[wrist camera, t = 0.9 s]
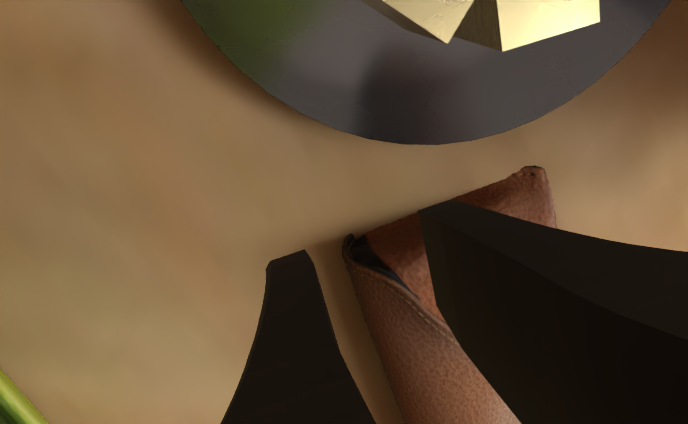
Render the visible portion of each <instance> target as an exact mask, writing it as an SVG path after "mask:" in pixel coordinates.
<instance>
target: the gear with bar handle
mask: <svg viewBox="0 0 688 424" xmlns="http://www.w3.org/2000/svg"><path fill="white" fill-rule="evenodd" d="M361 1H362V2H364V3H365V4H367V5H368V6H370V7H371V8H373V9H374V10H376V11H377V12H379V13H380V14H382V15H383V16H385V17H386V18H388V19H390V20H391V21H393V22H394V23H396V24H397V25H399V26H400V27H402V28H403V29H405V30H407V31H410V32H413V33H416V34H419V35H422V36H425V37H428V38H431V39H434V40H437V41H440V42H443V43H446V44H448V42H449V41H450V39H451V37H452V36H453V37H456V38H459V39H463V40H466V41H469V42H472V43H476V44H479V45H482V46H485V47H489V48H492V49H495V50H498V51H502V52H503V51H507V50H510V49H513V48H516V47H520V46H523V45H526V44H529V43H533V42H536V41H539V40H542V39H546V38H549V37H552V36H555V35H559V34H562V33H565V32H568V31H572V30H575V29H578V28H581V27H585V26H588V25H591V24H594V23H598V22H600V12H599V0H361Z"/></svg>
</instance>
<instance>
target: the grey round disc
mask: <svg viewBox="0 0 688 424" xmlns="http://www.w3.org/2000/svg"><path fill="white" fill-rule="evenodd" d="M181 1H182V2H183V4H184V5H185V7H186V8H187V9H188V11H189V12H190V13H191V15H192V16H193V18H194V19H195V20H196V22H197V23H198V24H199V26H200V27H201V29H202V30H203V31H204V33H205V34H206V35H207V36H208V37H209V38H210V39H211V40H212V41H213V43H214V44H215V45H216V46H217V47H218V48H219V49H220V50H221V51H222V52H223V53H224V54H225V55H226V56H227V58H228V59H229V60H230V61H231V62H232V63H233V64H234V65H235V66H236V67H237V68H238V69H240V70H241V71H242V72H243V73H244V74H246V75H247V76H248V77H249V78H251V79H252V80H253V81H254V82H255V83H257V84H258V85H259V86H260V87H261V88H263V89H264V90H265V91H266V92H267V93H269V94H271V95H272V96H274V97H275V98H277V99H279V100H280V101H282V102H283V103H285V104H287V105H288V106H290V107H291V108H293V109H295V110H296V111H298V112H299V113H301V114H303V115H305V116H308V117H310V118H312V119H314V120H316V121H319V122H321V123H323V124H325V125H327V126H330V127H332V128H334V129H337V130H340V131H344V132H347V133H350V134H354V135H357V136H361V137H364V138H367V139H372V140H379V141H385V142H392V143H398V144H420V145H440V144H448V143H456V142H464V141H472V140H476V139H479V138H483V137H487V136H491V135H495V134H499V133H503V132H506V131H508V130H511V129H513V128H516V127H518V126H521V125H523V124H526V123H528V122H531V121H533V120H536V119H537V118H539V117H541V116H543V115H545V114H547V113H548V112H550V111H552V110H554V109H556V108H558V107H559V106H561V105H563V104H565V103H567V102H568V101H569V100H571V99H572V98H574V97H575V96H576V95H578V94H579V93H581V92H582V91H584V90H585V89H586V88H588V87H589V86H591V85H592V84H593V83H595V82H596V81H597V80H598V79H599V78H601V77H602V76H603V75H604V74H605V73H606V72H607V71H609V70H610V69H611V68H612V67H613V66H614V65H615V64H616V63H618V62H619V61H620V60H621V59H622V58H623V57H624V56H625V55H626V54H627V53H628V52H629V50H630V49H631V48H632V47H633V46H634V45H635V44H636V43H637V42H638V41H639V40H640V39H641V37H642V36H643V35H644V34H645V33H646V32H647V31H648V30H649V28H650V27H651V26H652V24H653V23H654V22H655V20H656V19H657V18H658V16H659V15H660V14H661V12H662V11H663V10H664V8H665V7H666V6H667V4H668V3H669V2H670V0H599V12H600V22H598V23H594V24H591V25H588V26H585V27H581V28H578V29H575V30H572V31H568V32H565V33H562V34H559V35H555V36H552V37H549V38H546V39H542V40H539V41H536V42H533V43H529V44H526V45H523V46H520V47H516V48H513V49H510V50H507V51H503V52H502V51H498V50H495V49H492V48H489V47H485V46H482V45H479V44H476V43H472V42H469V41H466V40H463V39H459V38H456V37H453V36H452V37H451V39H450V41H449V42H448V44H446V43H443V42H440V41H437V40H434V39H431V38H428V37H425V36H422V35H419V34H416V33H413V32H410V31H407V30H405V29H403V28H402V27H400V26H399V25H397V24H396V23H394V22H393V21H391V20H390V19H388V18H386V17H385V16H383V15H382V14H380V13H379V12H377V11H376V10H374V9H373V8H371V7H370V6H368V5H367V4H365V3H364V2H362V1H361V0H181Z"/></svg>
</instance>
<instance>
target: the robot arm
mask: <svg viewBox="0 0 688 424" xmlns="http://www.w3.org/2000/svg"><path fill="white" fill-rule="evenodd" d="M418 215H419V220H420V225H421V230H422V235H423V240H424V245H425V250H426V255H427V260H428V265H429V270H430V275H431V280H432V286H433V291H434V296H435V301H436V306H437V308H438V309H439V311H440V313H441V314H442V316H443V318H444V320H445V321H446V323H447V325H448V327H449V328H450V330H451V332H452V333H453V335H454V337H455V338H456V340H457V341H458V343H459V345H460V346H461V348H462V350H463V351H464V352H465V353H466V355H467V356H468V357H469V359H470V360H471V361H472V362H473V364H474V365H475V366H476V367H477V369H478V370H479V371H480V373H481V374H482V375H483V376H484V378H485V379H486V380H487V381H488V383H489V384H490V385H491V386H492V388H493V389H494V390H495V391H496V393H497V394H498V395H499V396H500V398H501V399H502V400H503V401H504V403H505V404H506V405H507V406H508V408H509V409H510V410H511V411H512V413H513V414H514V415H515V416H516V418H517V419H518V420H519V421H520V422H521V424H688V252H683V251H674V250H667V249H660V248H653V247H646V246H639V245H632V244H626V243H621V242H615V241H610V240H605V239H600V238H595V237H591V236H586V235H582V234H577V233H573V232H568V231H564V230H560V229H556V228H552V227H548V226H545V225H541V224H537V223H534V222H530V221H526V220H523V219H519V218H516V217H512V216H509V215H506V214H502V213H499V212H495V211H492V210H489V209H485V208H482V207H478V206H475V205H471V204H467V203H463V202H459V201H454V200H448V201H445V202H442V203H439V204H436V205H433V206H430V207H427V208H425V209H422V210H419V211H418ZM221 424H376V422H375V421H374V419H373V417H372V415H371V413H370V411H369V409H368V407H367V405H366V403H365V402H364V400H363V398H362V396H361V394H360V392H359V390H358V388H357V386H356V384H355V382H354V380H353V378H352V376H351V374H350V372H349V370H348V368H347V366H346V363H345V361H344V359H343V357H342V355H341V353H340V350H339V347H338V344H337V340H336V337H335V334H334V330H333V327H332V323H331V320H330V317H329V313H328V310H327V307H326V303H325V300H324V297H323V293H322V290H321V287H320V283H319V280H318V277H317V273H316V270H315V266H314V263H313V262H312V260H311V258H310V257H309V255H308V254H307V252H306V251H305V249H304V250H301V251H298V252H296V253H293V254H290V255H287V256H284V257H281V258H278V259H275V260H272V261H270V262H269V264H268V266H267V268H266V286H265V294H264V300H263V305H262V310H261V314H260V318H259V322H258V327H257V331H256V334H255V338H254V341H253V344H252V347H251V350H250V353H249V356H248V359H247V362H246V365H245V368H244V371H243V374H242V376H241V379H240V382H239V384H238V387H237V389H236V391H235V394H234V396H233V398H232V400H231V403H230V405H229V407H228V409H227V411H226V413H225V416H224V418H223V420H222V422H221Z"/></svg>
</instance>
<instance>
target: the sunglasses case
mask: <svg viewBox="0 0 688 424" xmlns="http://www.w3.org/2000/svg"><path fill="white" fill-rule="evenodd" d="M451 200H454V201H459V202H463V203H467V204H471V205H475V206H478V207H482V208H485V209H489V210H492V211H495V212H499V213H502V214H506V215H509V216H512V217H516V218H519V219H523V220H526V221H530V222H534V223H537V224H541V225H545V226H548V227H552V228H556V229H557V225H556V215H555V212H554V207H553V199H552V194H551V189H550V187H549V182H548V179H547V176H546V173H545V170H544V169H543V168H541V167H537V166H525V167H523V168H522V169H521V170H520V171H518V172H517V173H513V174H512V175H511V176H509V177H507V179H504V180H500V181H499V182H496V183H493V184H490V185H488V186H485V187H483V188H480V189H476V190H474V191H471V192H469V193H466V194H464V195H461V196H458V197H456V198H453V199H451ZM342 255H343V258H344V260H345V263H346V268H347V270H348V272H349V274H350V276H351V280H352V283H353V286H354V289H355V292H356V296H357V298H358V300H359V303H360V305H361V308H362V311H363V314H364V317H365V320H366V323H367V325H368V327H369V329H370V332H371V335H372V338H373V340H374V343H375V345H376V348H377V351H378V353H379V356H380V358H381V361H382V364H383V366H384V370H385V372H386V374H387V377H388V380H389V382H390V385H391V388H392V391H393V393H394V395H395V398H396V401H397V404H398V406H399V408H400V411H401V413H402V416H403V419H404V421H405V424H521V422H520V421H519V420H518V419H517V418H516V416H515V415H514V414H513V413H512V411H511V410H510V409H509V408H508V406H507V405H506V404H505V403H504V401H503V400H502V399H501V398H500V396H499V395H498V394H497V393H496V391H495V390H494V389H493V388H492V386H491V385H490V384H489V383H488V381H487V380H486V379H485V378H484V376H483V375H482V374H481V373H480V371H479V370H478V369H477V367H476V366H475V365H474V364H473V362H472V361H471V360H470V359H469V357H468V356H467V355H466V353H465V352H464V351H463V350H462V348H461V346H460V345H459V343H458V341H457V340H456V338H455V337H454V335H453V333H452V332H451V330H450V328H449V327H448V325H447V323H446V321H445V320H444V318H443V316H442V314H441V313H440V311H439V309H438V308H437V306H436V301H435V296H434V291H433V286H432V280H431V275H430V270H429V265H428V260H427V255H426V250H425V245H424V240H423V235H422V230H421V225H420V220H419V215H418V212H417V213H415V214H412V215H409V216H407V217H405V218H402V219H398V220H397V221H395V222H392V223H391V224H387V225H384V226H381V227H379V228H376V229H375V230H373V231H370V232H368V233H366V234H365V235H363V236H362V237H360V238H358V239H355V237H354V235H353V234H351V233H350V234H349V235H348V236H347V238H346V239H345V241H344V244H343V246H342Z"/></svg>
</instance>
